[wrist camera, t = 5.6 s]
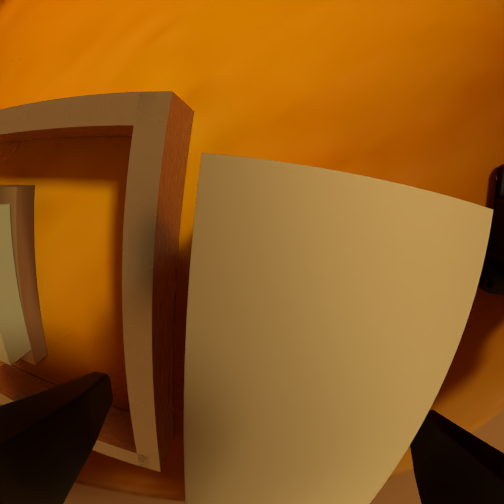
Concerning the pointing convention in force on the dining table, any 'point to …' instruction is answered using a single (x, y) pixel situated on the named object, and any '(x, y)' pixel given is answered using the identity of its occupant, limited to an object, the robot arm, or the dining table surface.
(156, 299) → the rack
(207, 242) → the sheet
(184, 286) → the dining table surface
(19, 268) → the offcut low
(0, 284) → the offcut top
